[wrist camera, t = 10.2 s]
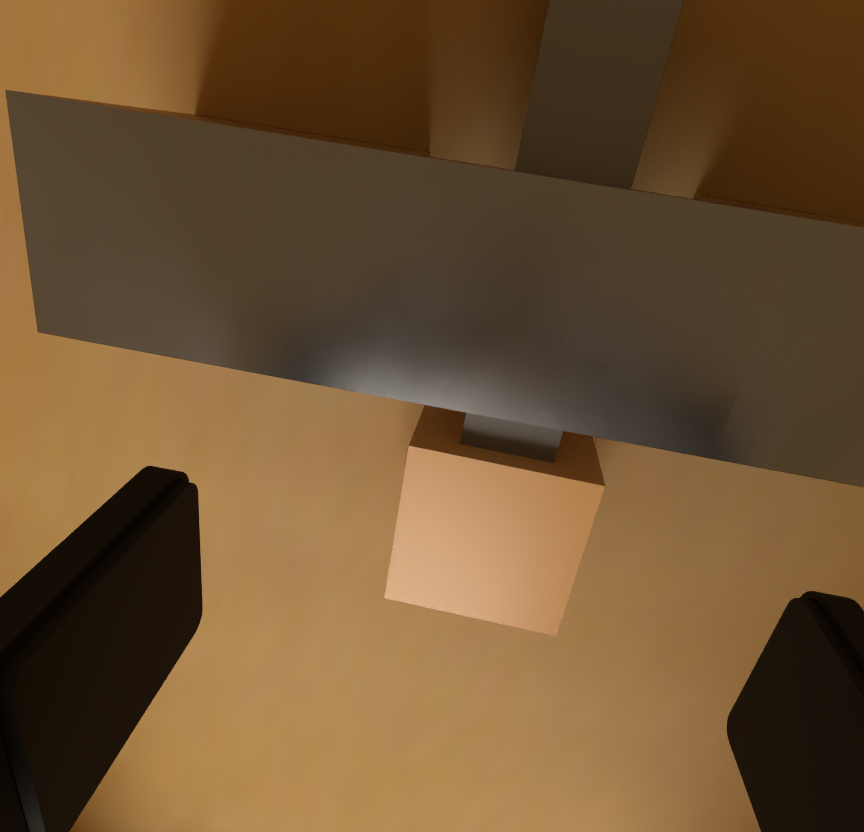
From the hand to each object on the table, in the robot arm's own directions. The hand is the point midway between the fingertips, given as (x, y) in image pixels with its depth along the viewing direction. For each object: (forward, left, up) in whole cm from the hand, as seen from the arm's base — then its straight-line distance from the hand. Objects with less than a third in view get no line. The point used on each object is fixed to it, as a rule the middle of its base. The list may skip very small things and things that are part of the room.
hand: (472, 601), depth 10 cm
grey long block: (+4, 0, -8) cm, 9 cm away
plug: (+3, 0, -8) cm, 9 cm away
